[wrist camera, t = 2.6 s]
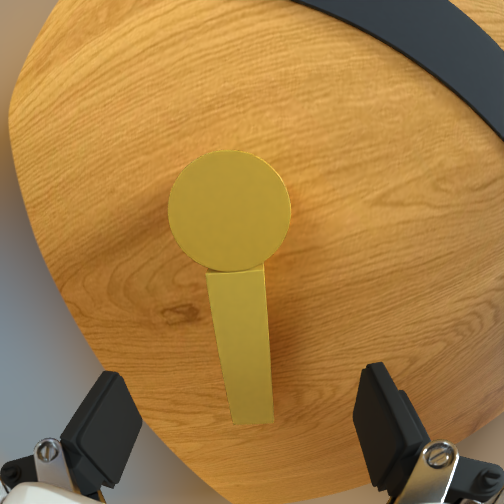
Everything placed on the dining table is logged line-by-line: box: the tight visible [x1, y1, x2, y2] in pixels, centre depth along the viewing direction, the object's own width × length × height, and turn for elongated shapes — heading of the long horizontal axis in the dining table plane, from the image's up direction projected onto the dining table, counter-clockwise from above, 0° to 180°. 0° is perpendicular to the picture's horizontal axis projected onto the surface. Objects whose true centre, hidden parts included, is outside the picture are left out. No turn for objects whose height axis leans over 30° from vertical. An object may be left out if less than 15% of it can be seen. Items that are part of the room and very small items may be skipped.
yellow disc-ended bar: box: [168, 150, 291, 425], centre depth 17 cm, size 18×6×4 cm, turn 5°
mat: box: [291, 0, 504, 141], centre depth 12 cm, size 24×10×1 cm, turn 68°
